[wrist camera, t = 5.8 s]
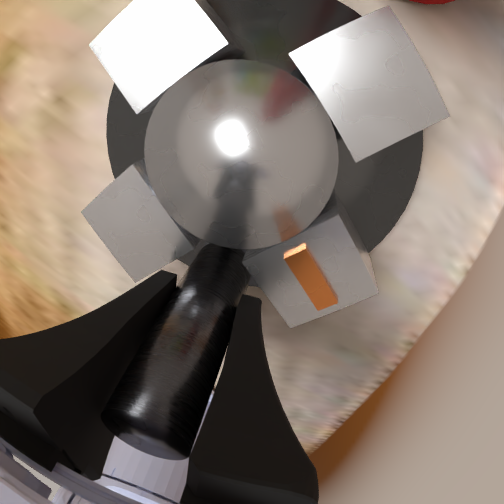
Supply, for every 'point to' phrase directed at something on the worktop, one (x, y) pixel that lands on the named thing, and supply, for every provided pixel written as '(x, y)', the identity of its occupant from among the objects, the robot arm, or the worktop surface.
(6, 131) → the worktop surface
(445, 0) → the soda can
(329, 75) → the tabbed chrome dome
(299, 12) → the dome plinth
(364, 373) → the worktop surface
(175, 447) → the black pin
